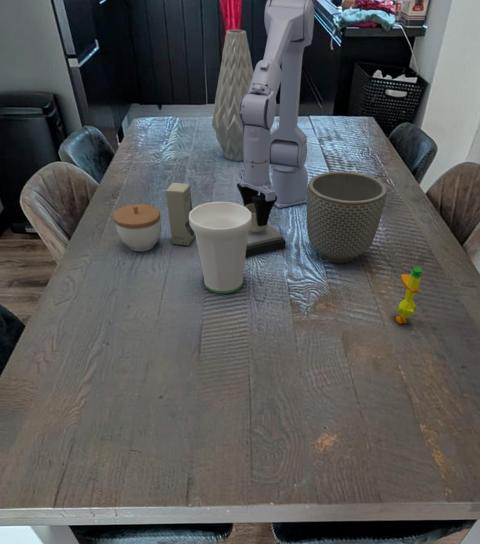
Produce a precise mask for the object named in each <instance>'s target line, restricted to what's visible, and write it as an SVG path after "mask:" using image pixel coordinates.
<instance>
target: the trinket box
mask: <svg viewBox="0 0 480 544" xmlns="http://www.w3.org/2000/svg"><path fill="white" fill-rule="evenodd" d="M112 220H113V223H114V227H115V229H116V233H117V235H118V237H119V239H120V241H121V242H122V243H123V244H124V245H126V246H127V247H128V248H129V249H130V250H132V251H135V252H146V251H149V250H152V249H153V248H154V247H155V246H156V244H157V243H158V241H159V239H160V238H161V233H162V222H161V211H160V210H159V209H158V208H157V207H155V206H154V205H150V204H146V203H135V204H128V205H127V204H126V205H125V206H121V207H119V208H117V209H115V211H114V212H113V214H112Z"/></svg>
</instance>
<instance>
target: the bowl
mask: <svg viewBox="0 0 480 544" xmlns="http://www.w3.org/2000/svg"><path fill="white" fill-rule="evenodd" d="M245 207H246V208H247V209H248V210H249V211H250V212H251V217H252V221H251V228H250V229H249V231H253V232H259V231H263V230H264V229H265V228H266V227H267V225H268V224H269V221H268V222H267V225H265V226H260V227H259V226H258V224H257V217H256V209H255V205H254V203H251V204H248V205H246V206H245Z"/></svg>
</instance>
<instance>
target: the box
mask: <svg viewBox="0 0 480 544" xmlns="http://www.w3.org/2000/svg"><path fill="white" fill-rule="evenodd" d="M165 197H166V203H167V211H168V219H169V226H170V235H171V242H172V244H174V245H179V246H189V245H190V244H191V243H192V242H193V240H194V239H195V238H196V235H195V232H194V231H193V230H192V228H191V227H190V223H189V213H190V211H192V210H193V203H192V193H191V184H189V183H182V182H172V183H171V184H170V185H169V186H168V187H167V188H166V189H165Z"/></svg>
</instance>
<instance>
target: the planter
mask: <svg viewBox="0 0 480 544" xmlns="http://www.w3.org/2000/svg"><path fill="white" fill-rule="evenodd" d="M387 194H388V189H387V186H386V185H385V183H383V181H381V180H380V179H378V178H376V177H374V176H372V175H368V174H365V173H360V172H356V171H343V170H342V171H341V170H340V171H339V170H338V171H327V172H323V173H319V174H317V175H315V176H313V177H311V179H309V180H308V187H307V203H306V232H307V236H308V237H307V239H308V242H309V243H310V245H311V247H312V248H313V249H314V250H315V251H316V252H318V253H319V255H320V256H321V258H323V259H324V260H325V261H327V262H330V263H333V264H334V263H336V264H346V263H349V262H352V261H354V260H355V258H357V257H358V256H360V255H361V256H362V254H364V253H365V252H366V251H367V250H369V249H370V247H371V245H372V244H373V242H374V240H375V237H376V235H377V231H378V228H379V225H380V222H381V219H382V216H383V211H384V207H385V204H386V200H387V196H388V195H387Z"/></svg>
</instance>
